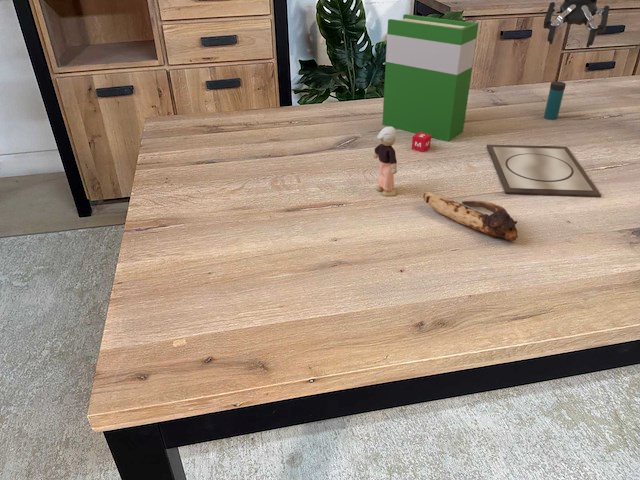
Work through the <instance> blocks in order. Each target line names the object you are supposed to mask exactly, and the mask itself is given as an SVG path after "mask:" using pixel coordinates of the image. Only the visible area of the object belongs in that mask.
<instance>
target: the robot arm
mask: <svg viewBox="0 0 640 480" xmlns="http://www.w3.org/2000/svg"><path fill="white" fill-rule="evenodd" d="M597 3H598V0H564V1H563V3H562V4H561V5H560V4H556V3H555V1H551V2H550V3H549V5H548V8H547V11H546V14H545V17H544V19H543V29H547V30H548V34H547V42H548V44H549V45H553V42H554V39H555V35H556V31H557V29H559V28H562V27H563V26H564V25H565V24H568V25H577V26H582V25H584V27H585V29H586V30H588V32H589V34H588V36H587V37H588V38H587V41H586V45H585V46H586V47H585V48H590V47H591V46H594V45H593V44H594V42H595V38H596V35H597V34H604V33H605V31H606V27H607V26H608V25H607V24H608V18H609V14H610V13H609V12H610V6H609V5H605V6H603V7H598V6H597ZM557 12H559V13H560V14H558V16H557V18H555V19H554V20H553V21H551V20H552V17H553V16H554V15H556V14H557ZM596 14H597V15H598V18H600V24H597V22H596V21H595V18H594V17H595V16H596Z"/></svg>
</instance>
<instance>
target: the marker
mask: <svg viewBox="0 0 640 480" xmlns="http://www.w3.org/2000/svg"><path fill="white" fill-rule="evenodd" d="M566 86H567V83H565V82H563V81H557V80H556V81H551V82H550V86H549V91H548V96H547V100H546V105H545V108H544V109H545V110H544V114H543V119H546V120H550V121H555V120H558V117H559V114H560V109H561V105H562V101H563V97H564V93H565V90H566Z"/></svg>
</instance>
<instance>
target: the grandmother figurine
mask: <svg viewBox="0 0 640 480" xmlns="http://www.w3.org/2000/svg"><path fill="white" fill-rule="evenodd" d="M396 131H397V130H396V128H394V127H390V126H385V127H383V128H382V129H381V130H380V131H379V132H378V134H377V135H376V139H377V140H379V141H381V143H380V144H378V145H377V146H376V147H374V152H373V154H372V155H373V156H372V157H373V158H374V159H378V161H379V168H378V185H377V186H376V187H375V191H377V192H381V195H382V196H383V197H394V196H397V194H398V193H397V190H396V189H395V188H393V187H395V178H394V177H395V174H397V173H398V169H397V168H398V166H397V164H398V161H397V156H396V150H395V148H394V147H393V145H394V144H395V143H396V134H397V132H396Z"/></svg>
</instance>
